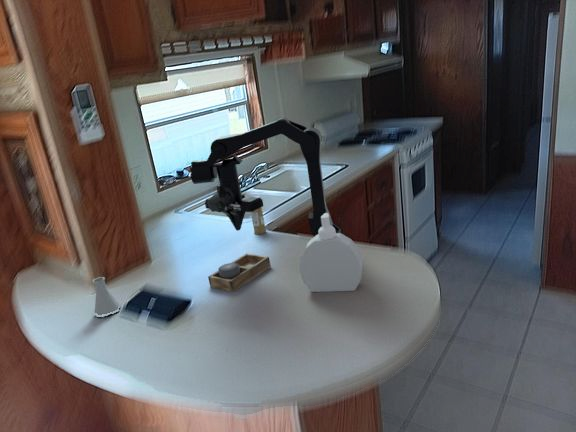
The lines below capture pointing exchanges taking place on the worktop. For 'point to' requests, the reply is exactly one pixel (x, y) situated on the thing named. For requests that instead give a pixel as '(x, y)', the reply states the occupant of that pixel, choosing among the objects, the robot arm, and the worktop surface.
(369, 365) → the worktop surface
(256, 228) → the sprinkles bottle
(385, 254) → the worktop surface
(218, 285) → the holder
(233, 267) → the lid
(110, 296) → the flask
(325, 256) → the soap bottle
